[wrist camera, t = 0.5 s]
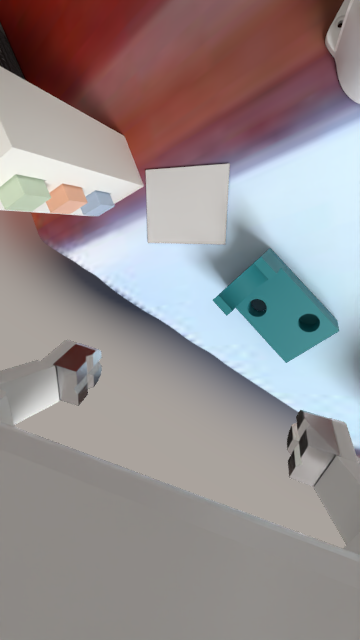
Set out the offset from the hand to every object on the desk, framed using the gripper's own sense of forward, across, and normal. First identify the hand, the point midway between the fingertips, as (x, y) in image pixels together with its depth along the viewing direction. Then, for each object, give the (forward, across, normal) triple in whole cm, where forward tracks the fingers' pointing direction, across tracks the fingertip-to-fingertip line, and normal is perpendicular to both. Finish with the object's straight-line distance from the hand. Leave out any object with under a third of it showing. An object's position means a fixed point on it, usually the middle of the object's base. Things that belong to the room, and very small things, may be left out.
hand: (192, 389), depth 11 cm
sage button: (+29, +31, -1) cm, 42 cm away
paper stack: (+50, +10, -4) cm, 51 cm away
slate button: (+44, +29, +2) cm, 53 cm away
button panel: (+51, +31, -1) cm, 60 cm away
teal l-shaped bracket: (+44, -9, +14) cm, 47 cm away
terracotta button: (+37, +30, 0) cm, 47 cm away
